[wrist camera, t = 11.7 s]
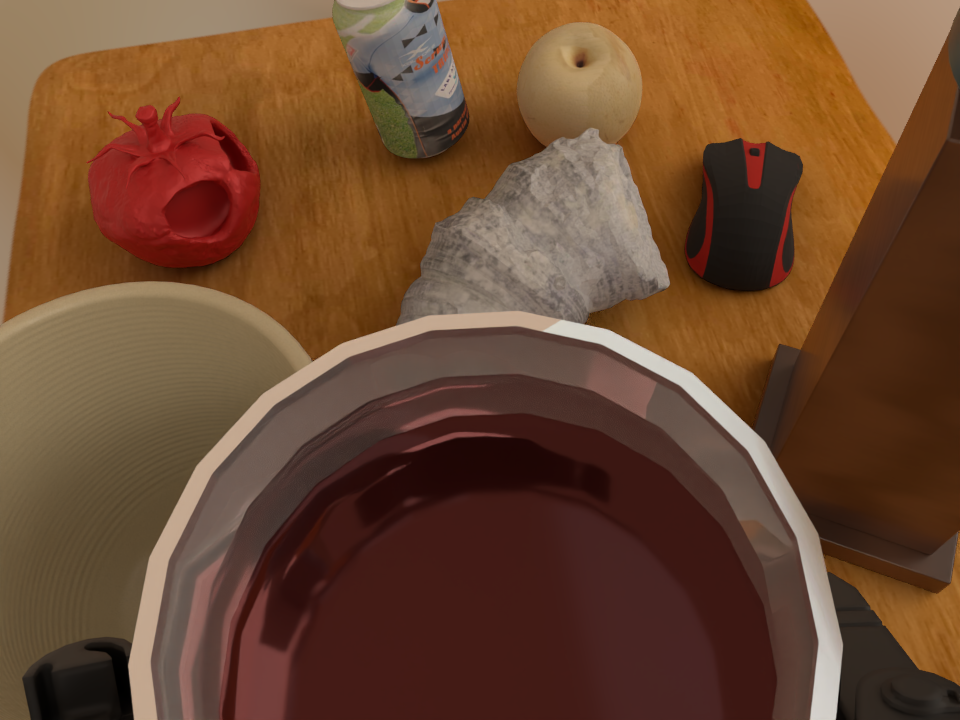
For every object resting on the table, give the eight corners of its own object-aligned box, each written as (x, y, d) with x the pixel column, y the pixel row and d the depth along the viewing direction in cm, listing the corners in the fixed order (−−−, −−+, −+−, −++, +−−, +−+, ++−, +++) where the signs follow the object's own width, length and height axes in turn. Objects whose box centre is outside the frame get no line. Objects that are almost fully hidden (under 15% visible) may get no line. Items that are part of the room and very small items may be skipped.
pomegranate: (92, 272, 54) (13, 167, 46) (166, 158, 59) (106, 45, 51) (234, 304, 52) (176, 199, 44) (298, 183, 57) (257, 68, 49)
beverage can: (464, 173, 56) (444, 14, 46) (354, 167, 57) (311, 10, 47) (477, 105, 59) (462, -57, 49) (373, 101, 60) (337, -59, 50)
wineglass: (635, 574, 20) (714, 257, 10) (727, 913, 17) (993, 956, 6) (351, 629, 20) (137, 365, 10) (382, 982, 17) (98, 1139, 6)
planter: (220, 888, 36) (33, 891, 23) (-11, 636, 42) (-261, 526, 29) (473, 571, 42) (439, 432, 29) (239, 392, 49) (125, 212, 36)
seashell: (420, 480, 45) (390, 385, 36) (373, 265, 53) (339, 146, 44) (713, 407, 46) (750, 298, 37) (625, 207, 54) (640, 79, 45)
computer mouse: (800, 162, 54) (817, 114, 51) (789, 301, 49) (807, 257, 46) (699, 149, 56) (709, 102, 52) (678, 284, 50) (688, 240, 47)
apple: (610, 66, 60) (662, 10, 52) (611, 177, 59) (665, 136, 51) (502, 51, 58) (541, -10, 50) (501, 166, 57) (541, 122, 49)
